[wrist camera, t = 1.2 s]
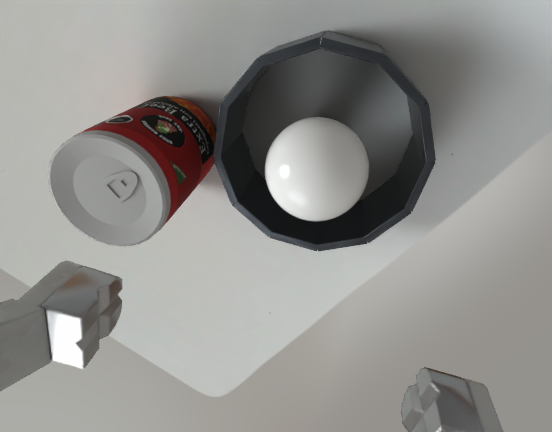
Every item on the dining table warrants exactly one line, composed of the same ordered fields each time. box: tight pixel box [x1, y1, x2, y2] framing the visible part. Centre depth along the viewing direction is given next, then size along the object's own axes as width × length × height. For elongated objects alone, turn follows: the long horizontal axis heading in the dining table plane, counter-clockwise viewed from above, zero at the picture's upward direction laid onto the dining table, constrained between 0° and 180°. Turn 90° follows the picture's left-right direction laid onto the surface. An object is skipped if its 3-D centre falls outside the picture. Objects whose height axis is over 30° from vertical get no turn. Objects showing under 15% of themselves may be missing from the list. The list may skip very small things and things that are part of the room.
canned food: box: [48, 96, 216, 246], centre depth 28 cm, size 8×8×11 cm
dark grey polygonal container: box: [213, 31, 436, 251], centre depth 28 cm, size 14×14×6 cm
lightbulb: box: [265, 117, 369, 221], centre depth 26 cm, size 6×6×11 cm
